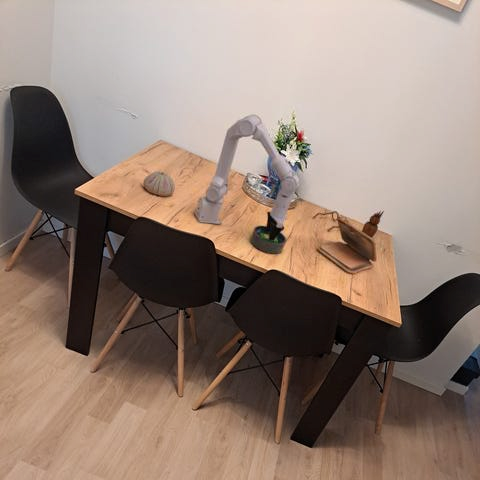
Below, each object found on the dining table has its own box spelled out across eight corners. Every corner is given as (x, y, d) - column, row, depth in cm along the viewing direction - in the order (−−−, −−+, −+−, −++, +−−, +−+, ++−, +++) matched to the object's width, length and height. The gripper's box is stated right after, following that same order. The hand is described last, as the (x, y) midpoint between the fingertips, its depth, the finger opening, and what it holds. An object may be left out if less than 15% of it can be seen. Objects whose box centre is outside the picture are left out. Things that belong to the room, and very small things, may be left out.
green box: (257, 244, 187) (260, 237, 186) (256, 238, 191) (258, 231, 189) (276, 249, 190) (279, 242, 188) (275, 243, 193) (277, 236, 191)
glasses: (346, 231, 230) (351, 223, 227) (328, 231, 223) (332, 222, 220) (331, 218, 238) (335, 209, 235) (312, 217, 231) (316, 208, 228)
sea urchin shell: (174, 201, 196) (178, 183, 191) (141, 193, 192) (145, 175, 187) (173, 188, 206) (177, 171, 201) (142, 180, 202) (146, 163, 197)
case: (374, 267, 207) (392, 236, 198) (350, 275, 193) (368, 242, 184) (340, 243, 216) (355, 212, 207) (314, 249, 202) (329, 216, 193)
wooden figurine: (372, 237, 235) (387, 210, 227) (371, 241, 230) (386, 214, 222) (360, 231, 236) (374, 205, 227) (359, 235, 231) (373, 208, 222)
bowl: (257, 253, 183) (261, 242, 180) (245, 234, 192) (248, 224, 189) (287, 255, 189) (291, 245, 186) (273, 237, 198) (277, 227, 196)
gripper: (294, 215, 175) (281, 246, 183) (288, 199, 187) (276, 228, 195) (277, 210, 174) (265, 242, 181) (271, 194, 185) (260, 224, 193)
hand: (269, 234), depth 188 cm, fingers open, 7 cm apart
